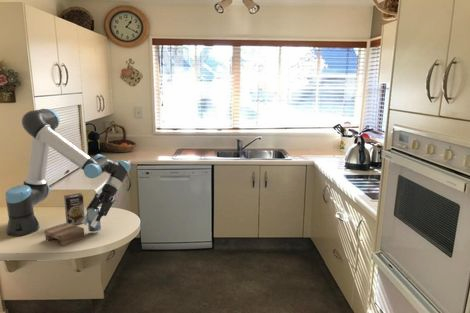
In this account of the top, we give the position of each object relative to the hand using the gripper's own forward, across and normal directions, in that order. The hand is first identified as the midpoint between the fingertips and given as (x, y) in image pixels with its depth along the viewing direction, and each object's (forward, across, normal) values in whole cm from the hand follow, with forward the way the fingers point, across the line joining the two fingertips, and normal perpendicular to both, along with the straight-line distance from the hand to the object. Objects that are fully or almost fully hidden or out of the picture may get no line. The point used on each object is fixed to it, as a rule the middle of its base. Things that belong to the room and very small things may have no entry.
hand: (88, 225), depth 183 cm
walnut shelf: (+10, +7, +2) cm, 13 cm away
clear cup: (0, 0, -5) cm, 5 cm away
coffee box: (-1, +21, -10) cm, 23 cm away
